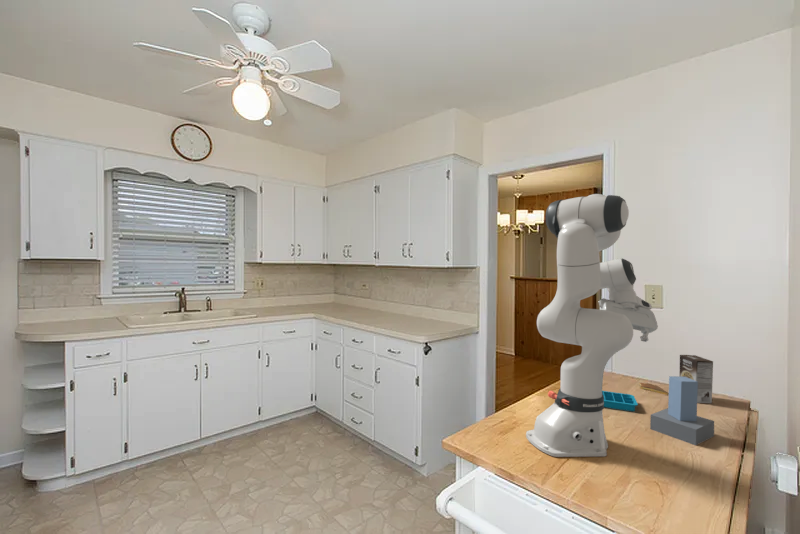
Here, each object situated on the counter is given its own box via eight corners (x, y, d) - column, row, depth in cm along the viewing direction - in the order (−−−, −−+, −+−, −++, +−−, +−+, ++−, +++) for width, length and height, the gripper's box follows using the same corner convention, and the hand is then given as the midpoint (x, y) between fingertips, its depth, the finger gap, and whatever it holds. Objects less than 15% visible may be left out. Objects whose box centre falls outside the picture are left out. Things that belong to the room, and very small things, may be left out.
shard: (669, 396, 147) (669, 392, 147) (647, 395, 148) (647, 390, 148) (655, 387, 157) (655, 383, 157) (635, 386, 159) (635, 382, 159)
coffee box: (678, 394, 148) (678, 354, 148) (694, 394, 148) (695, 354, 147) (695, 403, 139) (696, 360, 139) (713, 403, 139) (713, 360, 138)
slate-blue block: (680, 420, 112) (681, 381, 112) (668, 413, 117) (669, 376, 117) (696, 421, 112) (697, 381, 112) (683, 414, 117) (684, 376, 117)
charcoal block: (695, 446, 106) (696, 429, 106) (650, 430, 116) (650, 414, 116) (713, 437, 112) (714, 420, 112) (669, 422, 122) (669, 407, 122)
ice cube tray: (574, 394, 148) (574, 386, 148) (633, 402, 140) (633, 394, 139) (574, 404, 137) (574, 396, 137) (638, 414, 129) (638, 405, 129)
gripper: (603, 293, 132) (611, 328, 124) (655, 305, 134) (665, 340, 126) (592, 301, 137) (599, 335, 129) (642, 312, 139) (651, 347, 131)
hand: (632, 338), depth 128 cm, fingers open, 8 cm apart
